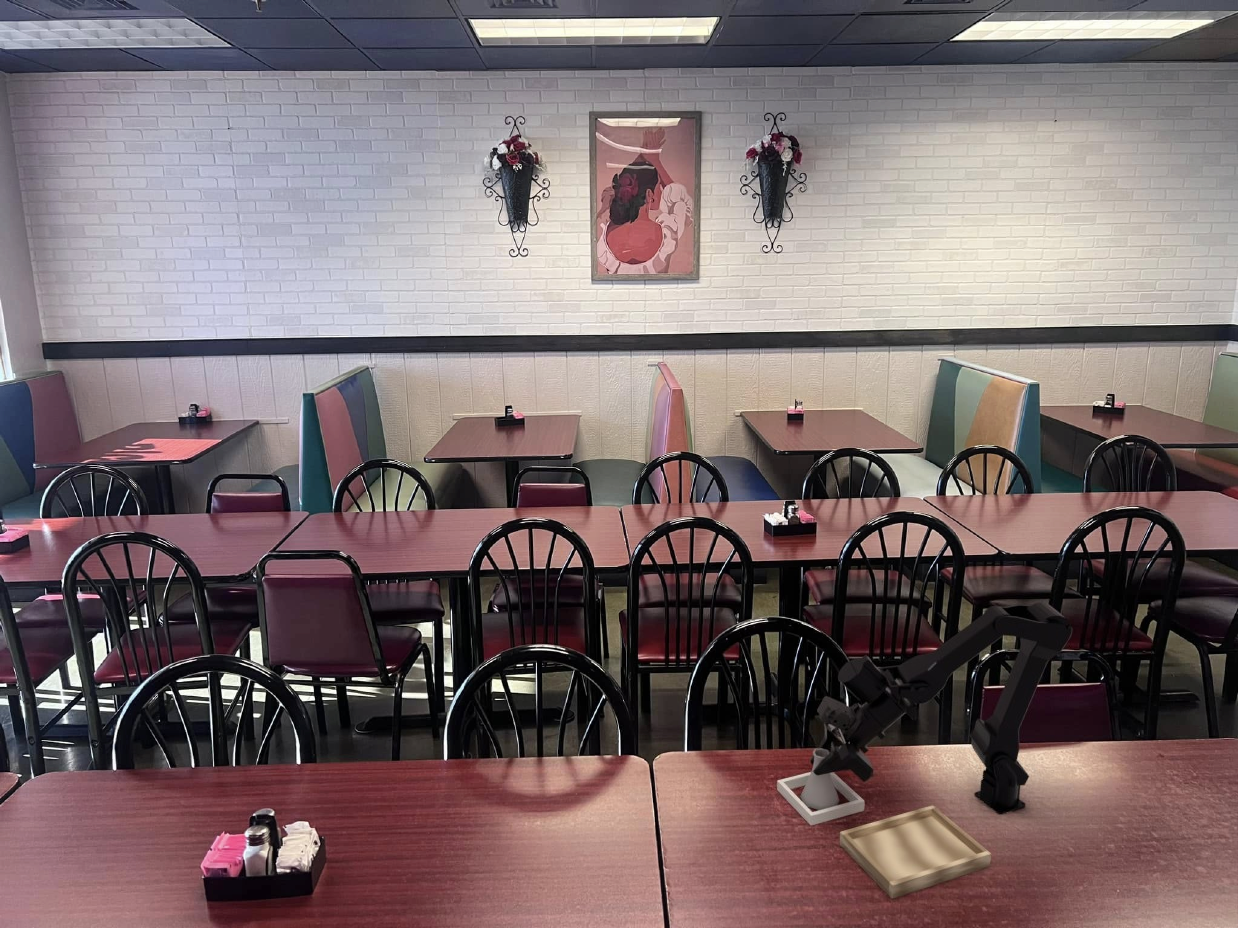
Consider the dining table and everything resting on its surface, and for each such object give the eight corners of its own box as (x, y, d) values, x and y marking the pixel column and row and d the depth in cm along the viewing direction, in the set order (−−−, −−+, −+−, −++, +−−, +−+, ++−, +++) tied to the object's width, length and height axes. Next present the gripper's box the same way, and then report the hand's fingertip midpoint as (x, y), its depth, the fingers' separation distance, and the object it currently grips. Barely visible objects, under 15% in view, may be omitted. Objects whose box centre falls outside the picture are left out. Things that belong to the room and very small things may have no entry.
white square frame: (827, 776, 164) (828, 767, 163) (864, 810, 153) (864, 800, 153) (777, 789, 160) (777, 780, 160) (810, 825, 149) (811, 815, 149)
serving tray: (931, 817, 151) (932, 805, 151) (989, 866, 138) (991, 853, 138) (839, 844, 144) (840, 831, 144) (891, 898, 131) (892, 885, 131)
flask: (840, 813, 152) (842, 765, 150) (800, 809, 154) (802, 761, 152) (838, 790, 159) (840, 743, 157) (800, 786, 161) (801, 740, 159)
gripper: (835, 664, 160) (776, 715, 163) (858, 713, 142) (791, 769, 145) (873, 701, 162) (815, 751, 165) (901, 754, 144) (834, 809, 147)
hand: (813, 768), depth 155 cm, fingers closed on flask, 3 cm apart
